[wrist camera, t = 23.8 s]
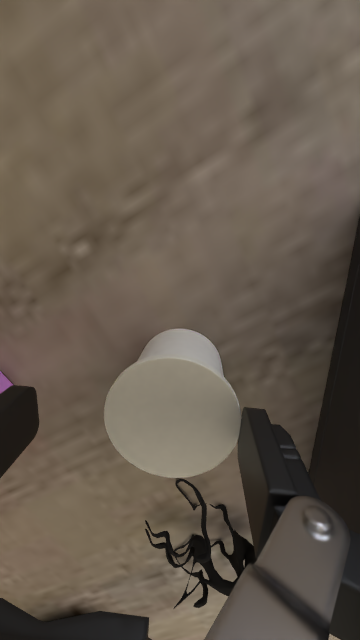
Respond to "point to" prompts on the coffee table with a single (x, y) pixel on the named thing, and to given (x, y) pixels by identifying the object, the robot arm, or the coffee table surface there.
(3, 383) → the bracket
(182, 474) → the coffee pod
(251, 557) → the creature
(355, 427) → the open lidded box
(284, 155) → the coffee table surface
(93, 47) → the coffee table surface
